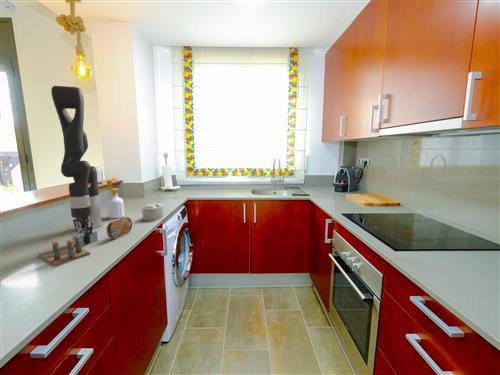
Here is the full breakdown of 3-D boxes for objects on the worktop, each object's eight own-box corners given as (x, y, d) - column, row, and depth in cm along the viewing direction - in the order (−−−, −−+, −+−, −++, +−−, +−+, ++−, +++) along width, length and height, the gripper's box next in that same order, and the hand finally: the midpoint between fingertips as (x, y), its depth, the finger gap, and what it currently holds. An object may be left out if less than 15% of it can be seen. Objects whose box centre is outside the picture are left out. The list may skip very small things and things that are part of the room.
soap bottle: (127, 216, 160) (124, 177, 156) (113, 219, 152) (109, 179, 148) (119, 214, 165) (116, 177, 161) (105, 217, 157) (101, 178, 153)
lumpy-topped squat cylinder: (140, 219, 151) (139, 205, 150) (153, 214, 164) (152, 201, 162) (155, 220, 149) (154, 206, 147) (167, 215, 161) (166, 202, 160)
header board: (38, 256, 101) (36, 238, 99) (72, 246, 110) (70, 229, 109) (54, 265, 92) (51, 246, 91) (90, 254, 102) (87, 236, 100)
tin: (112, 241, 116) (110, 223, 115) (106, 240, 117) (104, 223, 116) (133, 230, 131) (131, 215, 129) (127, 230, 131) (126, 215, 130)
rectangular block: (72, 245, 112) (70, 235, 111) (93, 239, 119) (92, 229, 119) (76, 246, 110) (74, 237, 109) (97, 240, 117) (96, 231, 117)
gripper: (64, 205, 113) (68, 241, 115) (78, 209, 105) (83, 248, 108) (82, 202, 119) (86, 237, 122) (97, 205, 111) (101, 242, 114)
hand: (85, 242), depth 114 cm, fingers closed on rectangular block, 4 cm apart
